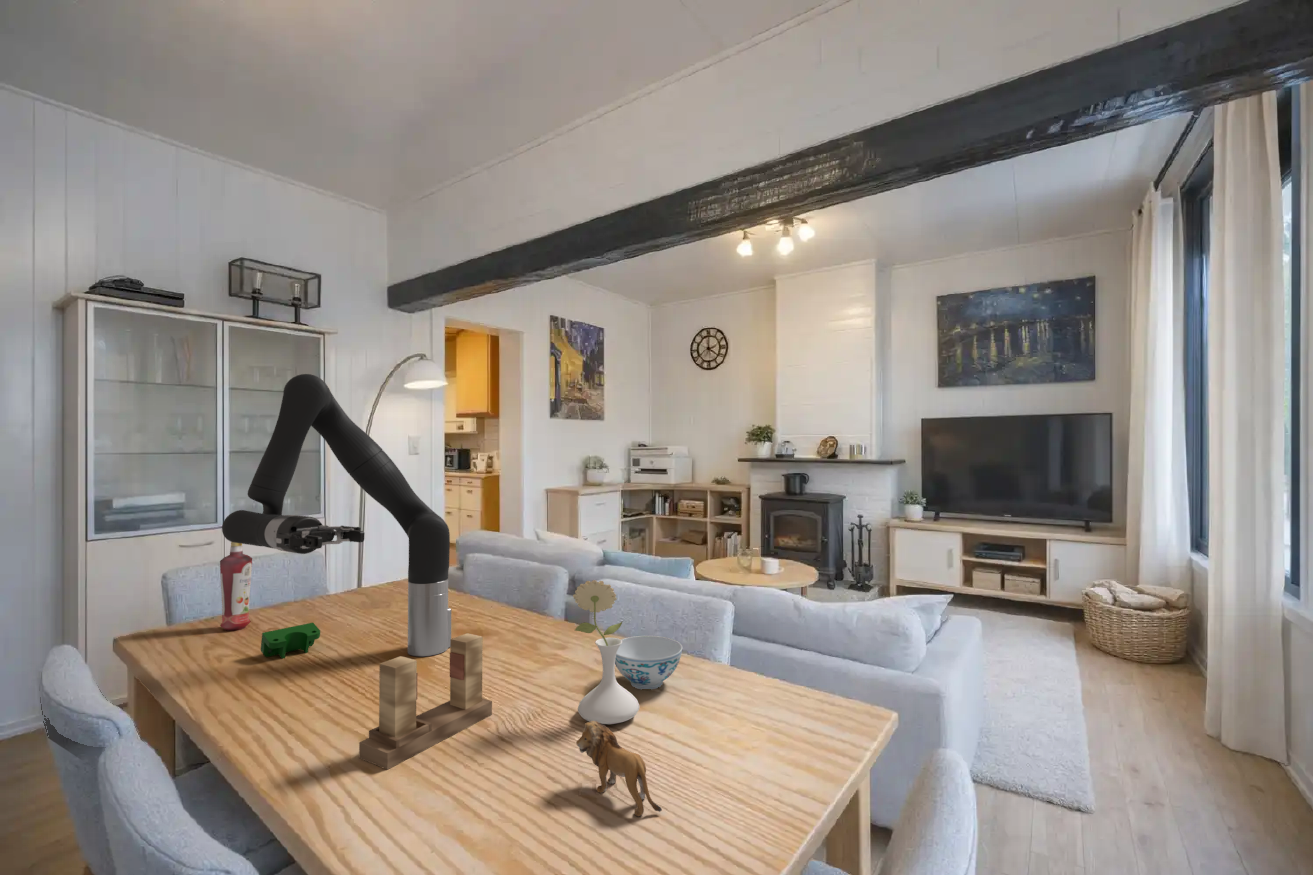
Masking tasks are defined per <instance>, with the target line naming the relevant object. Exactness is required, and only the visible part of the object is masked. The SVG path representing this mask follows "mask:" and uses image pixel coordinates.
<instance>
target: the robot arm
mask: <svg viewBox="0 0 1313 875" xmlns="http://www.w3.org/2000/svg"><path fill="white" fill-rule="evenodd" d="M282 392H283V393H282V399H281V405H280V409H279V413H278V417H277V420H276V423H275V426H274V430H273V431H272V435H271V436H270V437H271V438H270V440H269V442H268V445H267V447H266V449H265V451H264V453H263V455H262V458H261V459H260V461H259V464H258V466H257V469H256V471H255V473H254V476H253V478H252V480H251V483H250V484H249V487H248V490H247V497H248V498H249V499H251V500H253V501H255V502H257V503H259V504H261V505H262V513H261V512H255V511H250V510H245V509H240V510H235V511H233V512H231V513H229V515H227V516H226V518H225V519H223V522H222V526H221V532H222V535H223V536H224V538H225V539H226V540H227V541H229V542H230V543H231V542H234V543H241V544H242V545H250V546H256V547H264V548H268V549H274V550H278V551H280V552H281V551H282V552H286V553H287V552H288V553H292V554H293V553H294V554H299V555H305V554H310V553H312V552H315V551H316V550H317V549H318V550H319V549H322V548H323V546H327V545H339V544H341V543H343V542H350V543H351V542H352V543H363V542H364V541H365V532H364V530H362V529H361V527H359V526H346V525H340V526H339V525H336V526H330V525H329V526H328V525H327V524H326V525H323V524H322V522H321V521H320V520H319V519H318V518H316V517H313V516H308V515H307V516H306V515H305V516H304V515H297V514H286V515H284V514H283V507H284V500H285V496H286V494H287V492H288V489H289V487H290V485H291V481H292V479H293V477H294V475H295V472H296V468H297V466H298V463H299V459H300V455H301V451H302V448H303V446H304V442H305V439H306V437H307V435H308V433H309V430H310V428H311V427H312V428H313V429H314V430H315V431H316V432H317V433H318V434H319V435H320V436H321V437H322V438H323V440H324V441H325V442H326V444H327V445H328V447H329V448H330V450H331V452H332V453H333V455H334V456H335V457H336V459H337V461H338V462H339V463H340V465H341V466H342V467H343V469H344V470H345V471H346V473H347V474H349V476H350V477H351V478H352V480H354V481H355V482H356V483H357V485H358V486H359V487H360V488H361V489H362V490H363V491H364V492H365V493H366V494H367V495H368V496H369V497H371V498H372V499H373V500H375V502H377V503H378V504H379V505H381V506H382V507H383V508H384V509H386V511H388V512H389V513H390V515H392V516H393V518H394V519H395V520H396V522H397V523H398V524H399V525H400V527H401V528H402V530H403V531H404V533H405V535H406V536H407V538H408V565H407V566H408V568H407V569H408V570H407V571H408V572H407V583H408V584H407V593H408V594H407V654H408V655H409V656H413V657H429V656H435V655H438V654H439V655H440V654H441V653H444V652H446V651H447V650H448V649H450V639H452V609H451V607H449V570H450V551H451V550H450V547H451V546H450V543H451V541H450V540H451V536H450V535H451V534H450V528H449V526H448V524H447V522H446V521H445V520H444V519H443V518H442V517H441V516H440V515H439V514H437V513H436V512H435V511H433V509H431V508H430V507H429V505H427V504H426V503H425V502H424V501H423V500H422V499H421V498H420V497H419V496H418V495H417V494H416V493H415V491H414V490H413V489H412V487H411V485H410V484H409V482H408V481H407V480H406V478H405V476H404V474H403V473H402V472H401V470H400V469H399V467H398V466H397V465H396V463H395V462H394V461H393V459H391V457H389V455H388V454H387V453H386V452H385V450H384V449H383V448H382V447H381V446H379V444H378V443H377V442H376V441H375V440H374V439H373V438H372V437H371V436H370V435H369V434H368V433H367V432H365V431H364V430H363V429H362V428H361V427H359V426H358V425H357V424H356V423H355V422H354V421H353V420H352V419H351V418H350V417H349V416H348V414H347V413H346V412H345V411H344V408H342V407H341V405H340V403H339V402H338V400H336V398H335V396H334V395H333V393H332V391H331V389H330V388H329V386H328V384H327V383H326V382H325V381H324V380H323V378H320V377H319V376H317V375H314V374H310V373H302V374H297V375H296V376H293V377H292V378H290V379H289V380H288V381H287V382H286V384H285V385H284V388H283V391H282ZM282 514H283V515H282ZM335 536H336V540H334V538H335Z"/></svg>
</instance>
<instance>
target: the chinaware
mask: <svg viewBox="0 0 1313 875" xmlns="http://www.w3.org/2000/svg"><path fill="white" fill-rule="evenodd" d="M620 640H622V644H621V645H620V646H619V648H618V651H617V654H616V659H615V668H617V670H618V671H619V673H620V674H621V675H622V676H623V677H624V678H625V679H626V680H628V681H629V682H630V684H631V687H633V688H634V687H635V689H638V690H642V689H651V690H656V689H658V687H659V688H661V687H662V686H663V684H664V683H663V682H664V681H665V680H666V679H668V678H670V676H671V675H673V673H674V672H675V671H676V669H677V668H678V665H679V663H680V660H681V658H682V652H683V645H682V644H681V642H679V641H677V640H675V639H674V638H673V639H672V638H669V637H667V636H666V637H664V636H658V635H639V636H638V635H637V636H636V635H635V636H629V637H625V638H622V639H620ZM661 685H662V686H661Z"/></svg>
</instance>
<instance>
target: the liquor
mask: <svg viewBox="0 0 1313 875" xmlns="http://www.w3.org/2000/svg"><path fill="white" fill-rule="evenodd" d="M229 550H230V551H229V555H227V556H224V557H223V558H221V560H220V561H219V569H220V570H219V571H220V578H219V579H220V591H221V592H220V593H221V616H222V617H221V620H222V621H221V623H220V625H219V626H220V628H222V629H224V631H227V632H229V631H240V630H243V629H245V628H246V627H247V626H248V625H249V624H250V623H251V620H250V597H251V585H252V584H251V583H252V570H253V569H252V567H253V558H252V557H251V556H250V555H248V554H246V553H244V552H243V544H241V543H234V542H231V541H230V549H229Z"/></svg>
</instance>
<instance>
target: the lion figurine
mask: <svg viewBox="0 0 1313 875" xmlns="http://www.w3.org/2000/svg"><path fill="white" fill-rule="evenodd" d="M581 734H582V735H581V737H580V738H578V739H577V740H576V742H575V743H576V745H577V747H578V749H579V752H580V753H582V754H583V753H586V755H587V757H589V758H590V759H592V763H593V765H595V766H596V767H598V768H597V769H598V776H599V780H600V784H601V785H597V788H596V791H597V793H600V794H601V793H604V792H606V791H607V790H608V784H610V785H612V784H615V783H616V782H617V777H618V776H619V777H621V778H624V780H625V783H626V787H627V789H628V792H629V794H630V796H631V797H632V799H633V801H634V802H635V804H636V806H637V807H636V808H635V809H634V812H633V813H634V816H635V817H640V816H641V817H642V815H643V814H644V811H645V808H644V803H643V800H644V799H646V800H647V801H648V803H649V805H650V806H651V807H652V809H653V810H654V811H655V812H659V813H660V812H662V807H661V806H659V805H658V804H657V803H655V802H654V801H653V799H652V798H651V795H650V791H649V787H648V780H647V778H646V777H647V776H646V774H647V766H646V763H645V760H644V759H643V758H642V756H641V755H640V754H638V753H637V752H631V751H629V750H627V749H626V748H623V747H622V746H621V745H620V744H619V743H618V740H617V737H616V735H615V734H614V732H613V731H612V730H610V728H609V727H607V726H606V724H601V723H599V722H597V721H587V722H586V723H584V729H583V731H582V733H581ZM608 773H609V776H608V778H607V775H608ZM637 782H638V784H639V788H640V790H638V784H637Z"/></svg>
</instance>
